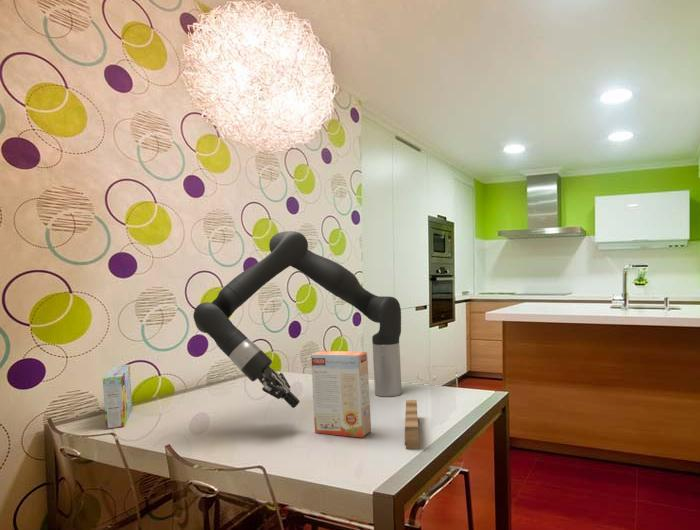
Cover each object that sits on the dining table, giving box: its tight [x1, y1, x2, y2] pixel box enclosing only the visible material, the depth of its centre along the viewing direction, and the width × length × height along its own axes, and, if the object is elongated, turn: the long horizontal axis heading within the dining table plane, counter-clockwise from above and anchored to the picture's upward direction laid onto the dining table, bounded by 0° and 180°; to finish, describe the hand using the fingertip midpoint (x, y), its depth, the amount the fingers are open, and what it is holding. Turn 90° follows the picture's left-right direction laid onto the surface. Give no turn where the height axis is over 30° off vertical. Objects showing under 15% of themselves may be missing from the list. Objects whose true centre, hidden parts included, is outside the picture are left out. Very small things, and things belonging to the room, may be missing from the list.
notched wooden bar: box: [404, 399, 420, 450], centre depth 121 cm, size 24×3×5 cm, turn 173°
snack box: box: [102, 364, 133, 430], centre depth 146 cm, size 21×6×15 cm, turn 19°
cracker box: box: [311, 350, 372, 438], centre depth 124 cm, size 14×6×21 cm, turn 64°
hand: (296, 404), depth 125 cm, fingers closed
